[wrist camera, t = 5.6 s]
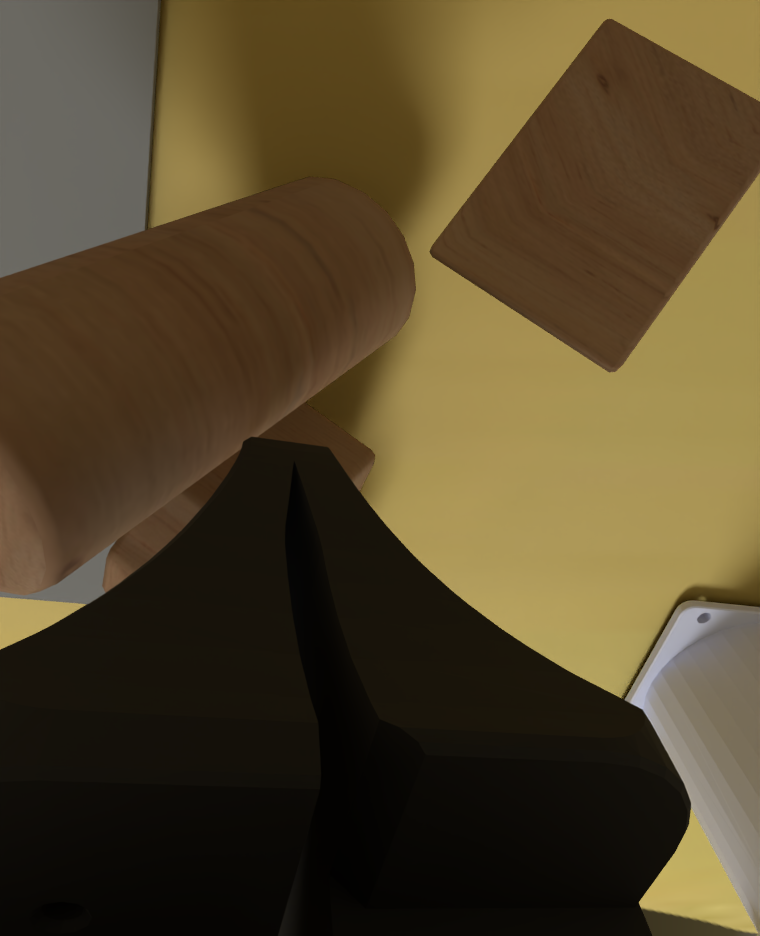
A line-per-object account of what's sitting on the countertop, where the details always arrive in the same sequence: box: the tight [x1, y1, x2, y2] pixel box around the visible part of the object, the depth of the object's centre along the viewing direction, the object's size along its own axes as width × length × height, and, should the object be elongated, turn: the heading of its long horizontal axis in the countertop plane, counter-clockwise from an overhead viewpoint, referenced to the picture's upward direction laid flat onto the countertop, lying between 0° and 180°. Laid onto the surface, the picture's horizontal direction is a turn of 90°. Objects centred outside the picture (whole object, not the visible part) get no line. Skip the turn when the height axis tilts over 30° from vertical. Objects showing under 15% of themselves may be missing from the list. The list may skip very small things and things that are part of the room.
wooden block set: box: [0, 19, 760, 596], centre depth 14 cm, size 18×9×10 cm
